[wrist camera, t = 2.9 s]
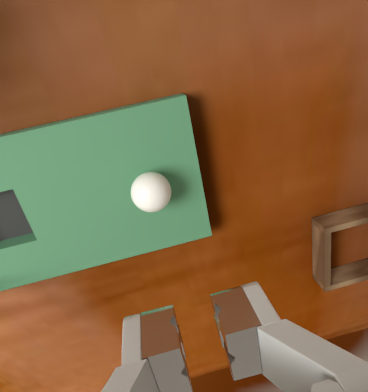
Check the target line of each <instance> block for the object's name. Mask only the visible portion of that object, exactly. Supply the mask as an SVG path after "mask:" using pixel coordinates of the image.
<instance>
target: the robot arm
mask: <svg viewBox="0 0 368 392" xmlns="http://www.w3.org/2000/svg"><path fill="white" fill-rule="evenodd" d="M210 299H211V304H212V307H213V310H214V313H215V314H214V318H215V322H216V326H217V330H218V334H219V337H220V340H221V343H222V346H223V347H224V348H225V353H226V358H227V362H228V364H229V367H230V370H231V373H232V376H233V379H234V381H235V380H238V379H242V378H246V377H249V376H253V375H257V374H261V373H263V375H264V376H265V377H266V378H268V379H269V380H270V381H271V382H272V383H274V384H275V385H276V386H277V387H278V388H279V389H281V390H282V391H283V392H368V362H366V361H364V360H362V359H360V358H358V357H356V356H355V355H353V354H351V353H349V352H347V351H345V350H343V349H341V348H339V347H338V346H336V345H334V344H332V343H330V342H328V341H326V340H325V339H323V338H321V337H319V336H317V335H315V334H313V333H311V332H310V331H308V330H306V329H304V328H302V327H300V326H298V325H296V324H295V323H293V322H291V321H289V320H287V319H284V320H281V319H280V318H279V316H278V314H277V313H276V311H275V309H274V308H273V306H272V304H271V303H270V301H269V299H268V298H267V296H266V295H265V293H264V291H263V290H262V288H261V286H260V285H259V283H258V282H256V281H255V282H252V283H248V284H245V285H241V286H238V287H235V288H231V289H228V290H224V291H221V292H217V293H214V294H210ZM185 358H186V355H185V350H184V346H183V341H182V337H181V333H180V329H179V325H178V324H177V320H176V314H175V311H174V308H173V305H170V306H166V307H162V308H158V309H154V310H150V311H146V312H142V313H140V314H136V315H132V316H128V317H124V320H123V334H122V365H121V366H119V367H116V369H115V370H114V372H113V373H112V375H111V377H110V378H109V380H108V381H107V383H106V385H105V386H104V388H103V389H102V391H101V392H192V387H191V382H190V376H189V371H188V367H187V363H186V360H185Z"/></svg>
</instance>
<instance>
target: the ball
mask: <svg viewBox="0 0 368 392" xmlns="http://www.w3.org/2000/svg"><path fill="white" fill-rule="evenodd" d="M131 198H132V200H133V202H134V204H135V205H136V206H137V207H138V208H139V209H141V210H143V211H145V212H157V211H159V210H161V209H163V208H164V207H165V206H166V205H167V204H168V202H169V201H170V198H171V186H170V184H169V182H168V180H167V179H166V178H165V177H164V176H163V175H161V174H159V173H156V172H146V173H143V174H141V175H139V176H138V177H137V178H136V179H135V180H134V182H133V184H132V186H131Z"/></svg>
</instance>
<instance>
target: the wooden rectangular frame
mask: <svg viewBox="0 0 368 392" xmlns="http://www.w3.org/2000/svg"><path fill="white" fill-rule="evenodd" d="M365 223H368V203H366V204H362V205H358V206H355V207H351V208H347V209H343V210H339V211H336V212H332V213H328V214H324V215H321V216H317V217H313V218H312V255H313V279H314V280H315V281H316V282H317V283H318V284H319V285H320V286H321V288H322V289H323V290H324V291H325V292H326V291H330V290H333V289H337V288H340V287H344V286H347V285H351V284H354V283H358V282H361V281H365V280H368V258H367V259H364V260H360V261H356V262H353V263H349V264H346V265H342V266H338V267H335V268H331V233H332V232H335V231H339V230H343V229H346V228H350V227H354V226H358V225H361V224H365Z"/></svg>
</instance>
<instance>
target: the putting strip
mask: <svg viewBox="0 0 368 392" xmlns="http://www.w3.org/2000/svg"><path fill="white" fill-rule="evenodd" d="M146 172H156V173H159V174H161V175H163V176H164V177H165V178H166V179H167V180H168V182H169V184H170V186H171V198H170V201H169V202H168V204H167V205H166V206H165V207H164V208H163V209H161V210H159V211H157V212H145V211H143V210H141V209H139V208H138V207H137V206H136V205H135V204H134V202H133V200H132V198H131V186H132V184H133V182H134V180H135V179H136V178H137V177H138V176H139V175H141V174H143V173H146ZM208 236H212V233H211V227H210V222H209V216H208V211H207V205H206V200H205V195H204V189H203V184H202V178H201V173H200V168H199V162H198V157H197V151H196V146H195V141H194V135H193V130H192V124H191V119H190V114H189V108H188V103H187V97H186V95H185V94H183V93H181V94H176V95H172V96H167V97H163V98H159V99H154V100H150V101H145V102H141V103H136V104H132V105H128V106H123V107H119V108H114V109H110V110H105V111H101V112H96V113H92V114H88V115H83V116H79V117H74V118H70V119H65V120H61V121H57V122H52V123H48V124H43V125H39V126H34V127H30V128H26V129H21V130H17V131H12V132H8V133H3V134H0V291H3V290H7V289H11V288H14V287H18V286H22V285H26V284H30V283H33V282H37V281H41V280H45V279H49V278H52V277H56V276H60V275H64V274H68V273H72V272H75V271H79V270H83V269H87V268H91V267H94V266H98V265H102V264H106V263H110V262H113V261H117V260H121V259H125V258H129V257H132V256H136V255H140V254H144V253H148V252H151V251H155V250H159V249H163V248H167V247H170V246H174V245H178V244H182V243H186V242H189V241H193V240H197V239H201V238H205V237H208Z"/></svg>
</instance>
